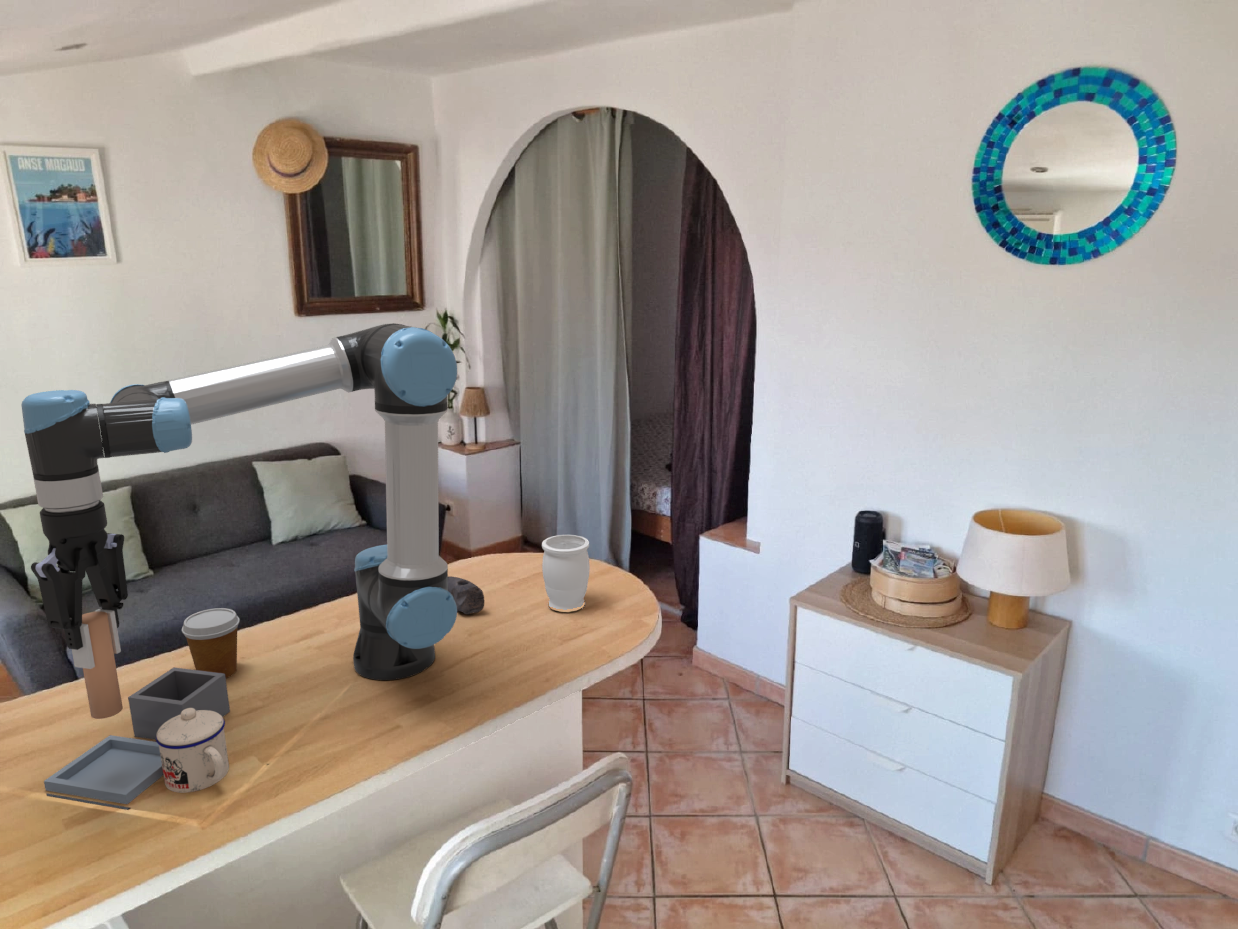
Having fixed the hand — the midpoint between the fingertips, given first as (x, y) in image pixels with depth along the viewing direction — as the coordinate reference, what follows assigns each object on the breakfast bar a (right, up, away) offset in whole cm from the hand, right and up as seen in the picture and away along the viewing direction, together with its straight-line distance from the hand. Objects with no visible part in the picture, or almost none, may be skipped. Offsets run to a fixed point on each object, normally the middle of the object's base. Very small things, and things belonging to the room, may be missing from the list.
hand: (98, 658), depth 120 cm
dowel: (0, -8, +2) cm, 9 cm away
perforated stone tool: (+40, -4, +64) cm, 76 cm away
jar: (+64, -4, +65) cm, 91 cm away
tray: (0, -19, +5) cm, 20 cm away
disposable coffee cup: (+1, -12, +34) cm, 36 cm away
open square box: (+3, -16, +18) cm, 24 cm away
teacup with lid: (+13, -20, +4) cm, 24 cm away
